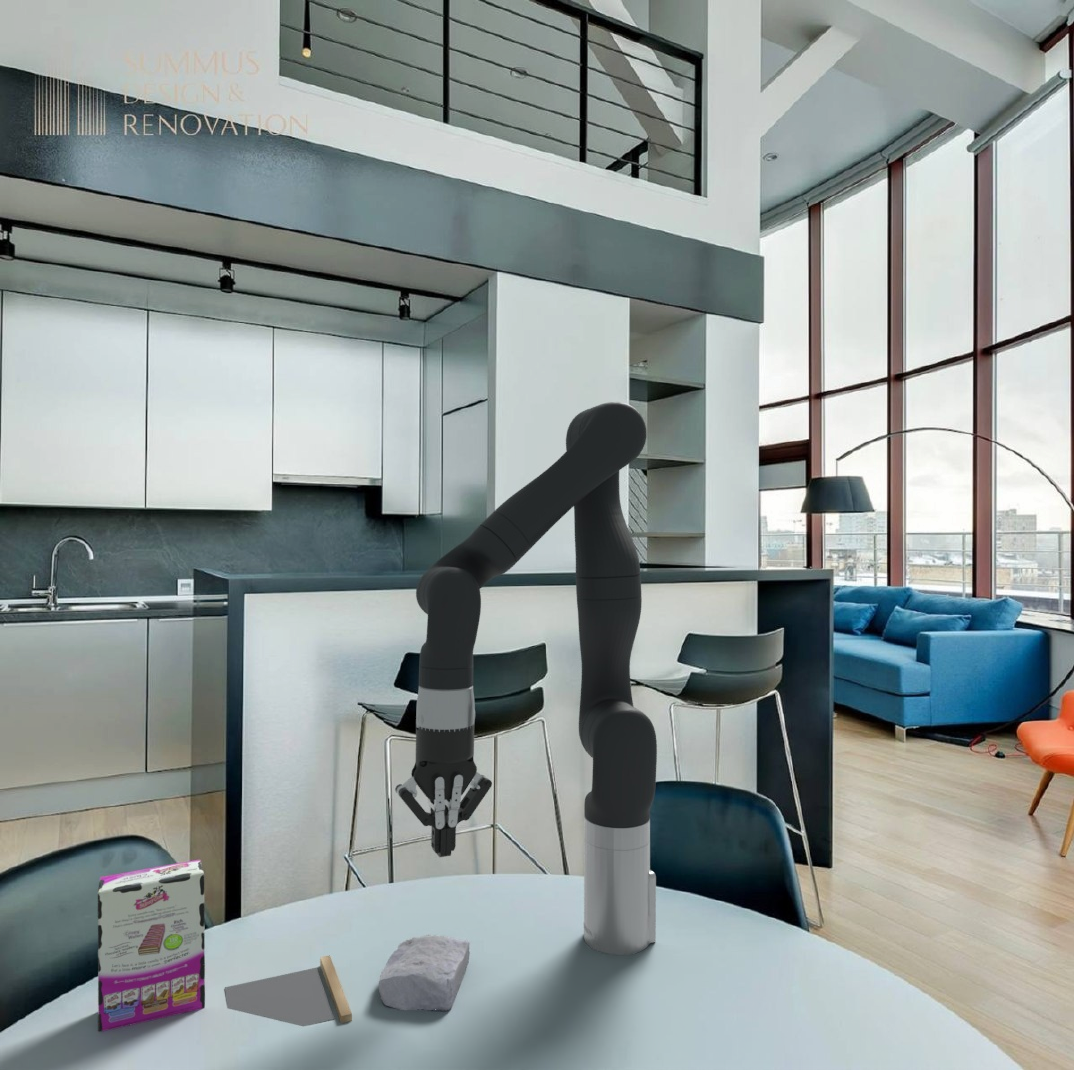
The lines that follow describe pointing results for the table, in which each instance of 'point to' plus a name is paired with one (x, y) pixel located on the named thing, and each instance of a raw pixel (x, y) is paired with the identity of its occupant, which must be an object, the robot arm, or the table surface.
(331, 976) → the strip
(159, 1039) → the table surface
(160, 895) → the candy bar box
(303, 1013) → the mat
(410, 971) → the stone block
